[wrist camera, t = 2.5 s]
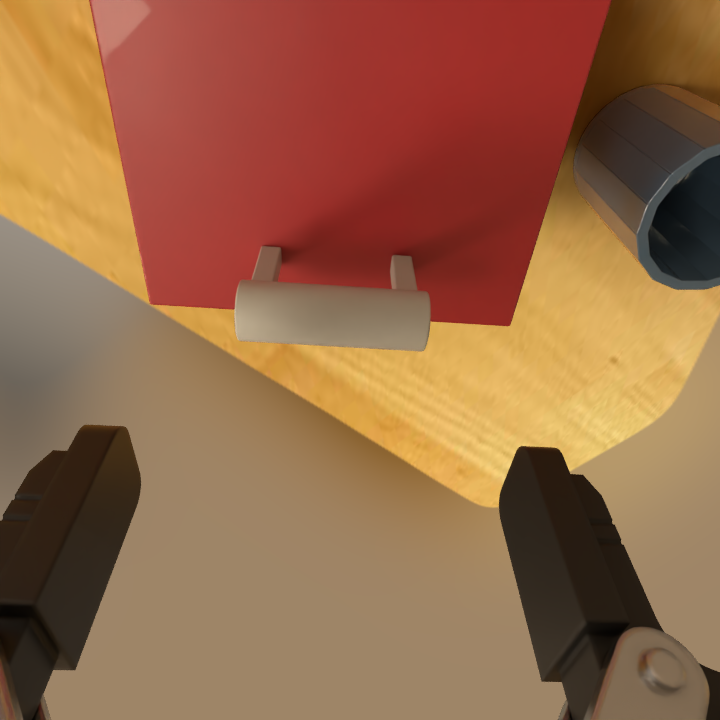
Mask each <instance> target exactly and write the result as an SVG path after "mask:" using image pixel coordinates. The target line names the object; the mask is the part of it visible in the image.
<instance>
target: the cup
mask: <svg viewBox="0 0 720 720" xmlns="http://www.w3.org/2000/svg"><path fill="white" fill-rule="evenodd" d="M573 173H574V180H575V184H576V187H577V189H578V191H579V193H580V194H581V196H582V197H583V198H584V200H585V201H586V202H587V203H588V205H589V206H590V207H591V209H592V210H593V211H594V212H595V213H596V214H597V216H598V217H599V218H600V219H601V220H602V221H603V223H604V224H605V225H606V226H607V227H608V228H609V230H610V231H611V232H612V233H613V234H614V235H615V237H616V238H617V239H618V240H619V241H620V242H621V243H622V245H623V246H624V247H625V248H626V249H627V250H628V252H629V253H630V254H631V255H632V256H633V257H634V259H635V260H636V261H637V262H638V263H639V264H640V266H641V267H642V268H643V269H644V270H645V271H646V273H647V274H648V275H649V276H650V277H651V278H652V279H653V280H655V281H657V282H659V283H662V284H664V285H666V286H669V287H671V288H674V289H677V290H699V289H709V288H712V287H715V286H718V285H720V106H718V105H716V104H714V103H712V102H710V101H708V100H706V99H704V98H702V97H699V96H697V95H695V94H693V93H691V92H689V91H687V90H685V89H683V88H681V87H676V86H672V85H666V84H654V85H647V86H642V87H639V88H636V89H633V90H631V91H629V92H627V93H625V94H623V95H621V96H619V97H618V98H616V99H614V100H613V101H612V102H610V103H609V104H608V105H606V106H605V107H604V108H603V109H602V110H601V111H600V112H599V113H598V114H597V115H596V116H595V117H594V119H593V120H592V121H591V122H590V124H589V125H588V127H587V128H586V130H585V131H584V133H583V135H582V137H581V139H580V141H579V143H578V146H577V149H576V153H575V157H574V165H573Z"/></svg>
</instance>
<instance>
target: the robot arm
mask: <svg viewBox="0 0 720 720" xmlns="http://www.w3.org/2000/svg"><path fill="white" fill-rule="evenodd" d="M140 488H141V477H140V472H139V468H138V464H137V461H136V457H135V454H134V450H133V446H132V443H131V439H130V435H129V432H128V430H127V428H126V427H123V426H103V425H84V426H83V427H81V428H80V430H79V431H78V433H77V435H76V436H75V438H74V440H73V442H72V444H71V445H70V447H69V449H68V451H55V450H53V451H52V452H51V453H50V454H49V455H47V456H46V457H45V458H44V459H43V460H42V461H40V462H39V463H38V464H37V465H36V466H35V467H33V468H32V469H31V470H30V471H29V473H28V474H27V476H26V478H25V479H24V481H23V483H22V484H21V486H20V488H19V489H18V491H17V493H16V494H15V499H14V500H12V501H11V503H10V504H9V506H8V508H7V509H6V511H5V513H4V514H3V520H2V521H0V720H51V718H50V714H49V711H48V707H47V704H46V701H45V697H44V695H43V693H44V691H45V688H46V686H47V683H48V681H49V679H50V676H51V674H52V671H53V670H75V669H76V667H77V664H78V661H79V659H80V656H81V653H82V650H83V648H84V645H85V643H86V640H87V637H88V635H89V632H90V629H91V626H92V624H93V621H94V619H95V616H96V613H97V611H98V608H99V605H100V602H101V600H102V597H103V595H104V592H105V589H106V587H107V584H108V581H109V578H110V576H111V573H112V570H113V568H114V565H115V563H116V560H117V557H118V555H119V552H120V549H121V547H122V544H123V541H124V539H125V536H126V533H127V531H128V528H129V525H130V523H131V520H132V517H133V515H134V512H135V509H136V507H137V504H138V500H139V496H140ZM499 512H500V519H501V523H502V527H503V531H504V535H505V539H506V543H507V547H508V551H509V555H510V559H511V562H512V567H513V571H514V574H515V578H516V582H517V586H518V590H519V594H520V598H521V602H522V606H523V610H524V614H525V618H526V622H527V625H528V629H529V633H530V637H531V641H532V645H533V649H534V653H535V657H536V661H537V665H538V669H539V672H540V677H541V680H542V681H545V682H562V684H563V687H564V691H565V695H566V698H567V700H566V701H565V703H564V705H563V707H562V710H561V713H560V715H559V718H558V720H720V672H717V671H714V670H712V669H710V668H707V667H705V666H703V665H701V664H699V663H698V662H697V660H696V659H695V658H694V656H693V655H692V654H691V653H690V652H689V651H688V650H687V648H686V647H684V646H683V645H682V644H681V643H680V642H679V641H677V640H676V639H674V638H673V637H672V636H670V635H668V634H666V633H665V632H664V631H663V629H662V628H661V626H660V624H659V622H658V621H657V619H656V617H655V614H654V612H653V610H652V608H651V605H650V603H649V601H648V599H647V597H646V594H645V592H644V590H643V587H642V585H641V583H640V581H639V579H638V576H637V574H636V572H635V570H634V567H633V565H632V563H631V560H630V558H629V556H628V554H627V552H626V549H625V547H624V545H622V544H621V538H620V536H619V533H618V531H617V529H616V527H615V525H613V524H612V518H611V516H610V513H609V511H608V509H607V507H606V504H605V502H604V500H603V498H602V496H601V495H600V493H599V492H598V491H597V490H596V489H595V488H594V487H593V486H592V485H591V483H590V482H589V481H588V480H587V479H586V478H585V477H584V476H583V475H576V474H570V472H569V470H568V467H567V465H566V462H565V460H564V457H563V455H562V453H561V452H560V450H559V449H557V448H549V447H527V446H521V447H519V448H518V449H517V451H516V454H515V456H514V459H513V461H512V464H511V466H510V469H509V471H508V474H507V476H506V479H505V481H504V484H503V487H502V489H501V493H500V499H499Z"/></svg>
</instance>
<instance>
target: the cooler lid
mask: <svg viewBox="0 0 720 720" xmlns="http://www.w3.org/2000/svg"><path fill="white" fill-rule="evenodd" d="M89 1H90V6H91V11H92V16H93V21H94V26H95V31H96V36H97V41H98V46H99V51H100V56H101V61H102V66H103V71H104V76H105V81H106V86H107V91H108V96H109V101H110V106H111V111H112V116H113V121H114V126H115V131H116V136H117V141H118V146H119V151H120V156H121V161H122V166H123V171H124V176H125V181H126V186H127V191H128V196H129V201H130V206H131V211H132V216H133V221H134V226H135V231H136V236H137V241H138V246H139V251H140V256H141V261H142V266H143V271H144V276H145V281H146V286H147V291H148V296H149V301H150V304H153V305H170V306H186V307H203V308H219V309H235V331H236V336H237V339H238V340H240V341H250V342H268V343H285V344H302V345H319V346H337V347H354V348H371V349H389V350H406V351H424V349H425V347H426V345H427V341H428V337H429V330H430V321H432V322H449V323H465V324H481V325H498V326H510V324H511V321H512V318H513V315H514V311H515V308H516V305H517V302H518V299H519V295H520V292H521V289H522V286H523V283H524V279H525V276H526V273H527V270H528V267H529V263H530V260H531V257H532V254H533V251H534V247H535V244H536V241H537V238H538V235H539V231H540V228H541V225H542V222H543V219H544V215H545V212H546V209H547V206H548V203H549V199H550V196H551V193H552V190H553V187H554V184H555V180H556V177H557V174H558V171H559V168H560V164H561V161H562V158H563V155H564V152H565V148H566V145H567V142H568V139H569V136H570V132H571V129H572V126H573V123H574V120H575V116H576V113H577V110H578V107H579V104H580V100H581V97H582V94H583V91H584V88H585V84H586V81H587V78H588V75H589V72H590V68H591V65H592V62H593V59H594V56H595V52H596V49H597V46H598V43H599V40H600V36H601V33H602V30H603V27H604V24H605V20H606V17H607V14H608V11H609V8H610V4H611V1H612V0H89Z"/></svg>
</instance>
